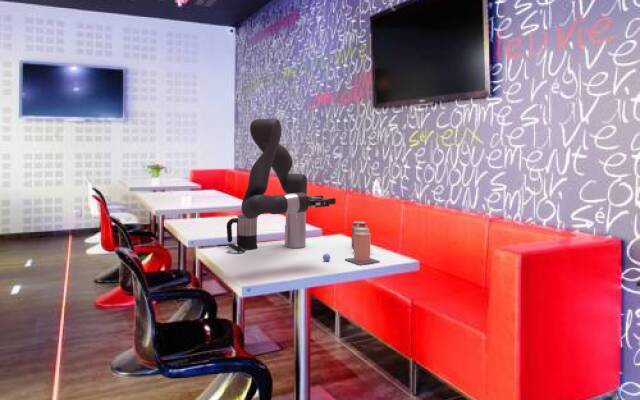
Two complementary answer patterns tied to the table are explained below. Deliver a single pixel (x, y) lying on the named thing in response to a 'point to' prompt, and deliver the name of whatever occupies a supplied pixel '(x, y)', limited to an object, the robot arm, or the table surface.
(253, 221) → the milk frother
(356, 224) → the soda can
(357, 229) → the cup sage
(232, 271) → the table surface
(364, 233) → the cup terracotta
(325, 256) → the marble
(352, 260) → the mat
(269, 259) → the table surface
